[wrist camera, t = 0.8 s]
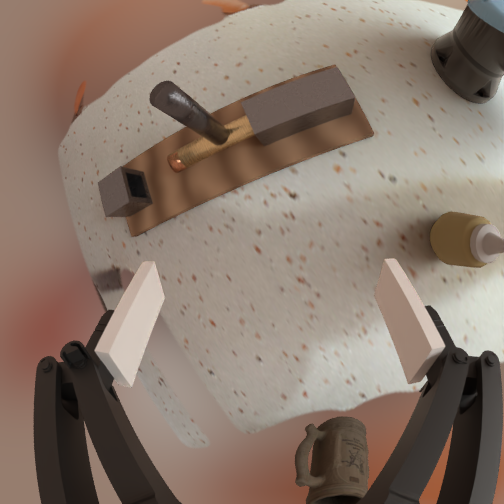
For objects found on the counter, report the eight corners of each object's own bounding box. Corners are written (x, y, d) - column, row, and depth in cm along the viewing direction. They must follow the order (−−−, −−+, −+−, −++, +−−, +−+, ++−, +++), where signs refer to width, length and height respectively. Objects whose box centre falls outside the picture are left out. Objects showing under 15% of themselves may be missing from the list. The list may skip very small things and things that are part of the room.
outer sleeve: (336, 86, 36) (336, 66, 30) (351, 114, 36) (355, 97, 30) (251, 117, 40) (240, 102, 34) (264, 146, 40) (254, 134, 34)
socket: (143, 171, 46) (120, 166, 40) (152, 203, 46) (129, 201, 40) (121, 186, 48) (97, 182, 41) (129, 216, 48) (105, 216, 42)
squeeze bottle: (414, 242, 38) (468, 254, 20) (439, 201, 36) (500, 192, 18) (446, 271, 36) (505, 298, 19) (469, 232, 34) (534, 239, 17)
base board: (335, 68, 37) (335, 64, 36) (372, 136, 37) (374, 133, 36) (119, 173, 50) (114, 172, 48) (136, 236, 50) (131, 236, 48)
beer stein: (379, 427, 41) (383, 501, 22) (346, 456, 44) (337, 525, 25) (319, 397, 45) (302, 473, 26) (289, 429, 47) (262, 499, 28)
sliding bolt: (328, 90, 35) (325, 11, 17) (337, 107, 35) (342, 32, 17) (175, 156, 42) (96, 127, 24) (181, 174, 43) (100, 151, 25)
